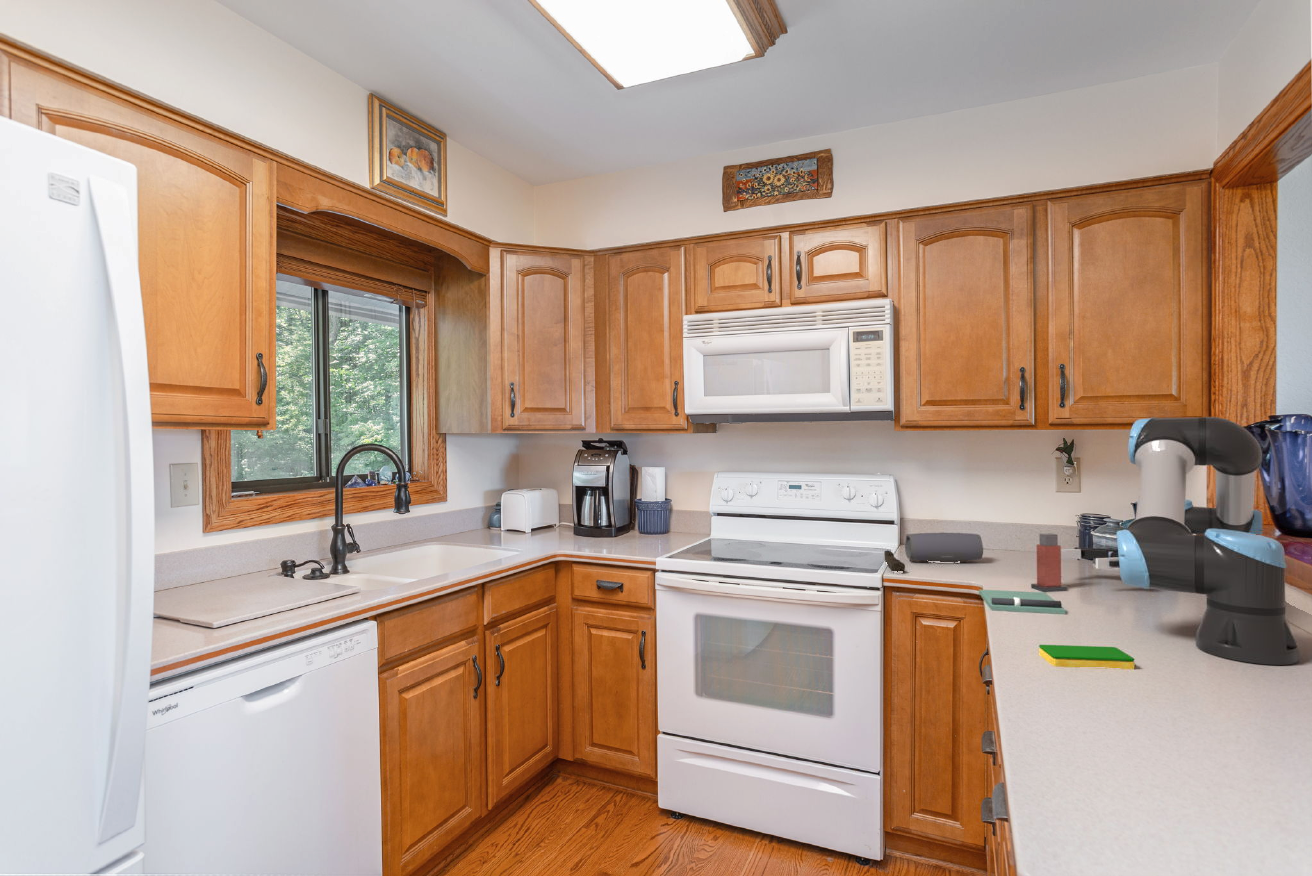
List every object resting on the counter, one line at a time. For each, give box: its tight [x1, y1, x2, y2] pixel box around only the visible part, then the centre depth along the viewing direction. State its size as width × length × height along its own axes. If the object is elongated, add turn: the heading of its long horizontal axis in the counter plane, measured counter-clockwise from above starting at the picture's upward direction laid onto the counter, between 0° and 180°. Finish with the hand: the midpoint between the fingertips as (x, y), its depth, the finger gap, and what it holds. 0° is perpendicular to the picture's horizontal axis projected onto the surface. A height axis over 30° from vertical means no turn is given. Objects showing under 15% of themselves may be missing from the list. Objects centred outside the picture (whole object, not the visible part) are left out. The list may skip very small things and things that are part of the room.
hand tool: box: [884, 549, 906, 572], centre depth 218 cm, size 19×4×5 cm, turn 170°
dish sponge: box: [1038, 644, 1135, 670], centre depth 128 cm, size 7×14×2 cm, turn 80°
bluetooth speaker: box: [904, 532, 984, 562], centre depth 226 cm, size 23×9×10 cm, turn 84°
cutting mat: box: [978, 589, 1066, 615], centre depth 172 cm, size 18×16×3 cm
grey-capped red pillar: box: [1030, 532, 1068, 593], centre depth 186 cm, size 5×7×15 cm
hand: (1077, 559), depth 187 cm, fingers open, 13 cm apart
